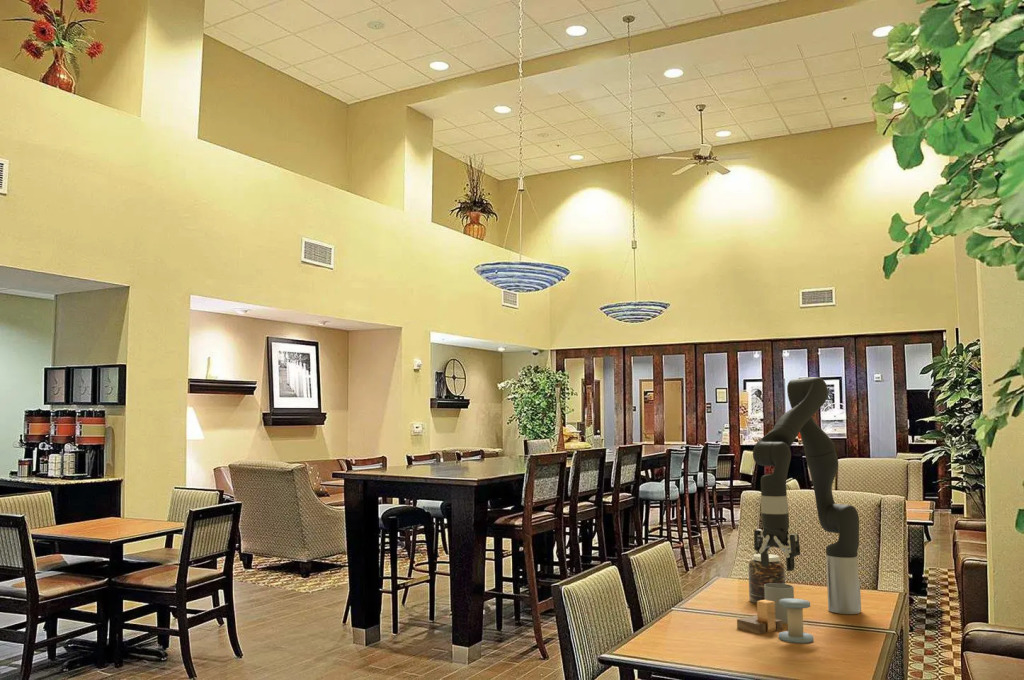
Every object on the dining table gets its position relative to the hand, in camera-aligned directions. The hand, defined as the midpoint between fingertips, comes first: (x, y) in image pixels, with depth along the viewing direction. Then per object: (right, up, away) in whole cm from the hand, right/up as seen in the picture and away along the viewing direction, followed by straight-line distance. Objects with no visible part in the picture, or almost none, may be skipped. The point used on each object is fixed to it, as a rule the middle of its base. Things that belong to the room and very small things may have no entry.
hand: (777, 568), depth 234 cm
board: (-5, -17, 0) cm, 18 cm away
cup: (+4, -19, +11) cm, 23 cm away
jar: (+9, -22, +37) cm, 44 cm away
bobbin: (+1, -16, -11) cm, 20 cm away
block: (-3, -17, -1) cm, 18 cm away
